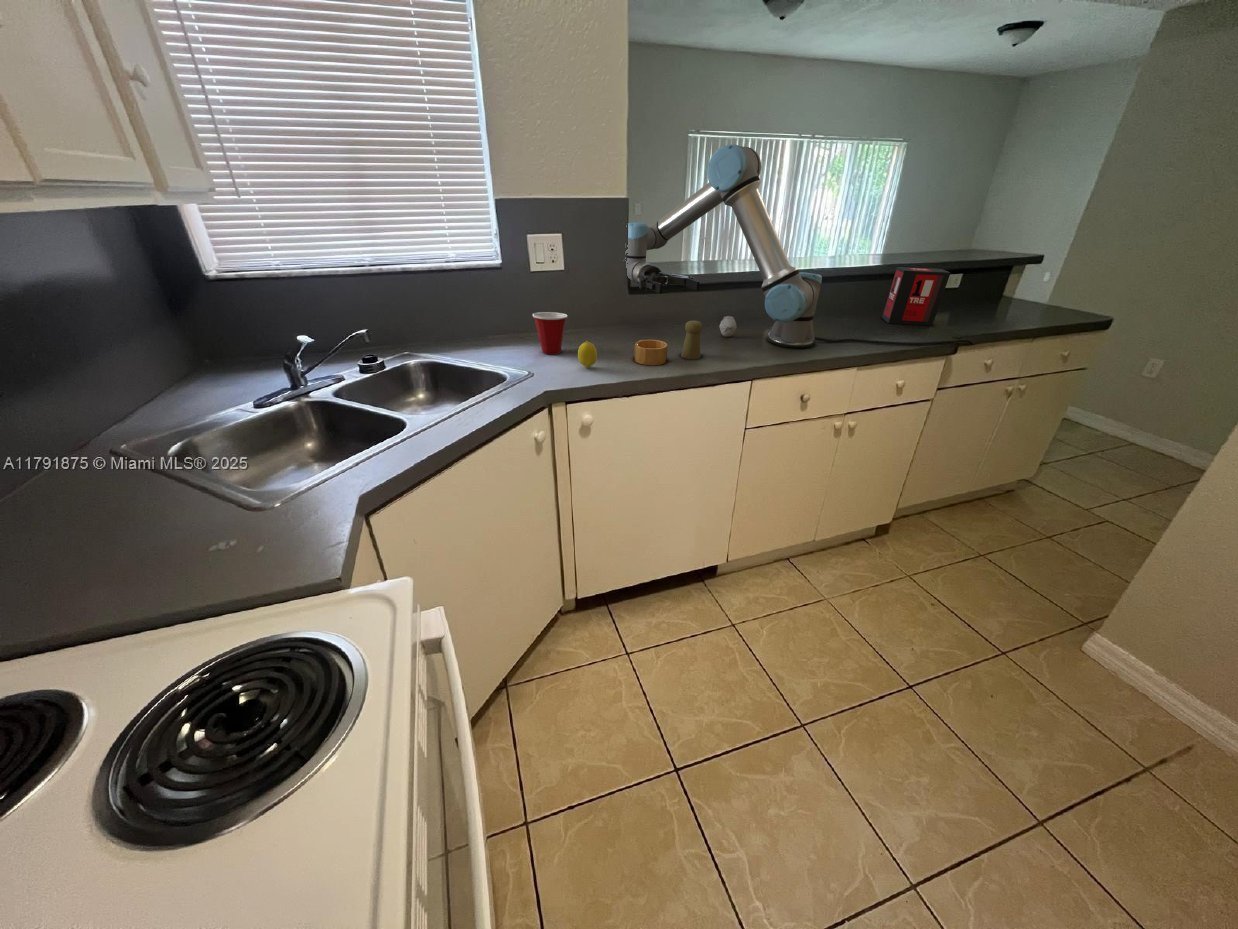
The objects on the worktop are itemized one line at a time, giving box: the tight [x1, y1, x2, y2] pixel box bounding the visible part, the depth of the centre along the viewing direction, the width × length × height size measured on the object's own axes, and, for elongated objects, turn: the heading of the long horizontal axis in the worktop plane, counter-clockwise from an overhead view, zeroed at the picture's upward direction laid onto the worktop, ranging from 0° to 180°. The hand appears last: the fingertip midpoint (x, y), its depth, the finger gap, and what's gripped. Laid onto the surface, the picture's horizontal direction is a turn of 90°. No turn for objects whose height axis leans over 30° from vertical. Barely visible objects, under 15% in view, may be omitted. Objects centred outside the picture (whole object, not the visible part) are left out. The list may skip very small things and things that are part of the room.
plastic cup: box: [532, 311, 568, 355], centre depth 153 cm, size 11×11×12 cm
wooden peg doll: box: [681, 320, 703, 360], centre depth 152 cm, size 6×6×11 cm
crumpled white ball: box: [718, 315, 738, 338], centre depth 173 cm, size 6×7×7 cm
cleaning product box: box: [881, 266, 952, 327], centre depth 193 cm, size 16×9×20 cm, turn 80°
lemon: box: [577, 340, 598, 369], centre depth 141 cm, size 6×6×8 cm
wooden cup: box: [634, 339, 669, 366], centre depth 149 cm, size 10×10×5 cm
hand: (679, 287), depth 152 cm, fingers open, 13 cm apart
